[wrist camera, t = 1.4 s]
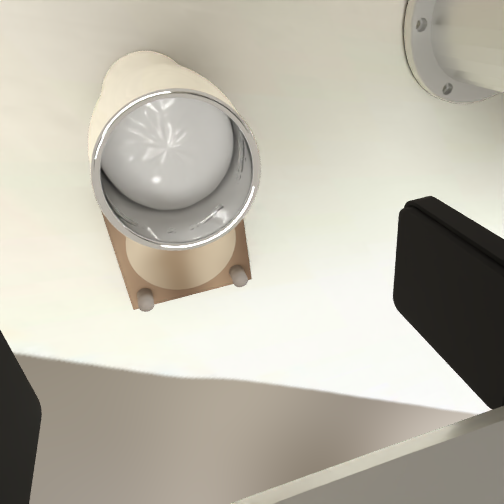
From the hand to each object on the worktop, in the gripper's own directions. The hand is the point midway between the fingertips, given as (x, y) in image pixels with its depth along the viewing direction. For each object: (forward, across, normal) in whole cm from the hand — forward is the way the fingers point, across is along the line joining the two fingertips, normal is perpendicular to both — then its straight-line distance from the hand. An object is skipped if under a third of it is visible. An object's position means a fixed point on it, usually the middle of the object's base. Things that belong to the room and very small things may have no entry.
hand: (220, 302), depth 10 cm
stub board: (+23, 0, +10) cm, 25 cm away
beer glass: (+23, 0, 0) cm, 23 cm away
